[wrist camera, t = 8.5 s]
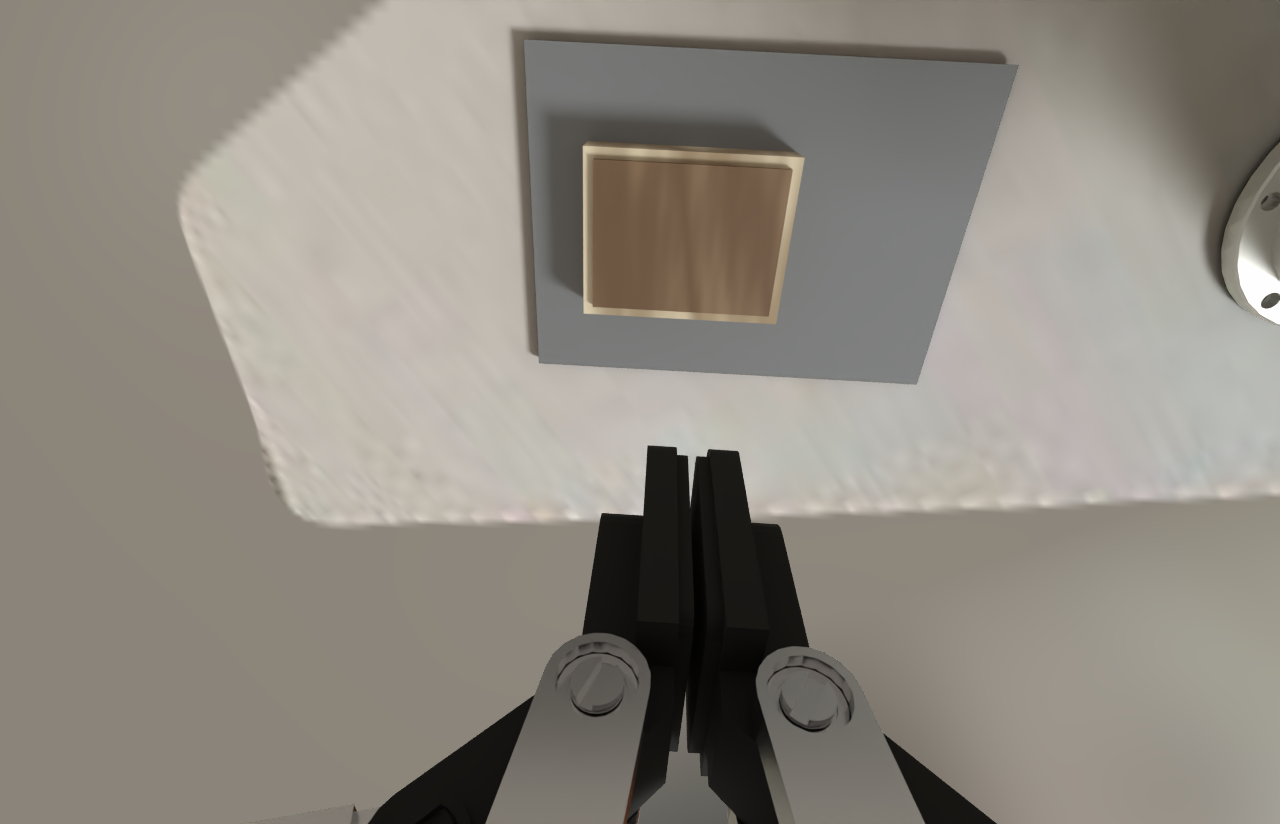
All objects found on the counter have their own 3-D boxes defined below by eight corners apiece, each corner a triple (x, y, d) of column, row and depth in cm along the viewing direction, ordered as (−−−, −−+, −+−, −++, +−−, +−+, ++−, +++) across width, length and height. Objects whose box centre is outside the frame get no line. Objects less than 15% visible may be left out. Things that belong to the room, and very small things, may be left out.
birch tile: (806, 158, 26) (582, 146, 26) (776, 326, 30) (582, 315, 30) (796, 152, 28) (587, 140, 28) (770, 310, 32) (587, 300, 32)
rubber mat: (1014, 65, 26) (1018, 64, 26) (914, 381, 35) (916, 384, 34) (525, 39, 27) (523, 39, 26) (540, 360, 35) (538, 363, 34)
